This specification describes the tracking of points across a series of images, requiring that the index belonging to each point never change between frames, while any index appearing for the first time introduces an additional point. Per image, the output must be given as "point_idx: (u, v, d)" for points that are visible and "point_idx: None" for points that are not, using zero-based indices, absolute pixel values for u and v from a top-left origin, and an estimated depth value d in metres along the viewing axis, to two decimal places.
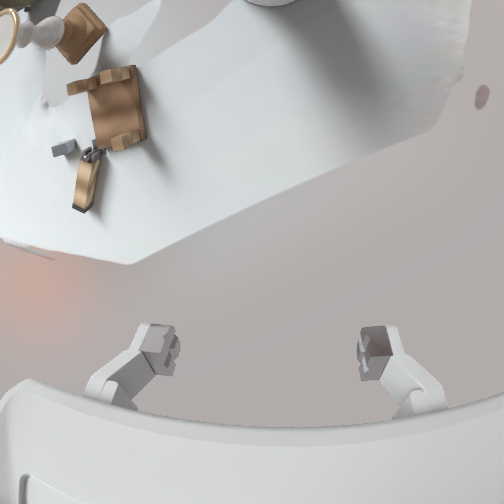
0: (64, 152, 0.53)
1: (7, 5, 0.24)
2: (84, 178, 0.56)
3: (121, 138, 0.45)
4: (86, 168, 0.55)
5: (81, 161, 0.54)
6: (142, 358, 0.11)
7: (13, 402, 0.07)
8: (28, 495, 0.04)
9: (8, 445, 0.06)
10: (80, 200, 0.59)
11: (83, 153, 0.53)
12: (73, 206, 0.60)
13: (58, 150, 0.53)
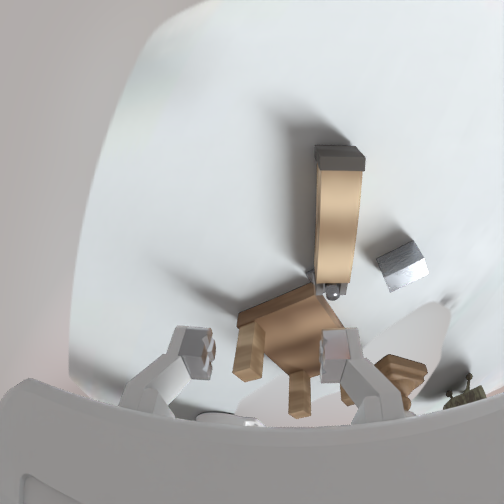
0: (394, 276, 0.29)
1: None
2: (332, 250, 0.27)
3: (244, 380, 0.32)
4: (329, 271, 0.29)
5: (345, 280, 0.29)
6: (180, 363, 0.11)
7: (13, 402, 0.07)
8: (28, 495, 0.04)
9: (8, 445, 0.06)
10: (338, 190, 0.24)
11: (343, 291, 0.30)
12: (361, 163, 0.22)
13: (410, 274, 0.29)
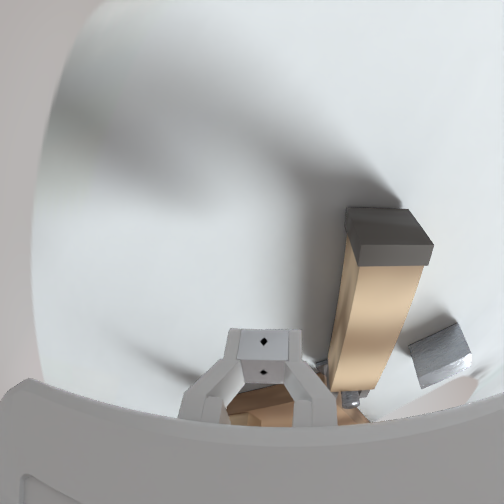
0: (430, 374, 0.19)
1: None
2: (358, 361, 0.17)
3: None
4: (350, 381, 0.19)
5: (368, 387, 0.19)
6: (239, 367, 0.10)
7: (13, 402, 0.07)
8: (28, 495, 0.04)
9: (8, 445, 0.06)
10: (382, 292, 0.14)
11: (363, 394, 0.21)
12: (425, 254, 0.12)
13: (449, 370, 0.19)
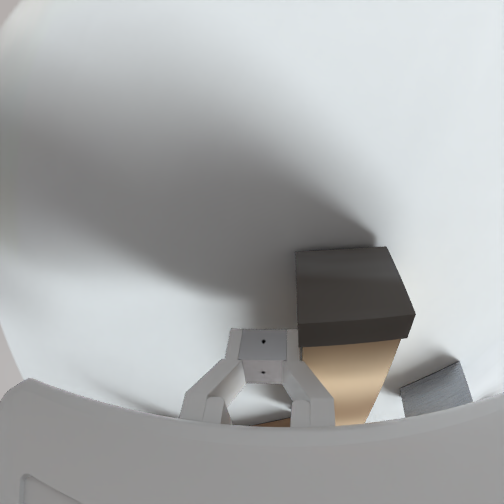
0: None
1: None
2: None
3: None
4: None
5: None
6: (240, 367, 0.10)
7: (13, 402, 0.07)
8: (28, 495, 0.04)
9: (8, 445, 0.06)
10: (342, 369, 0.10)
11: None
12: (402, 326, 0.08)
13: None
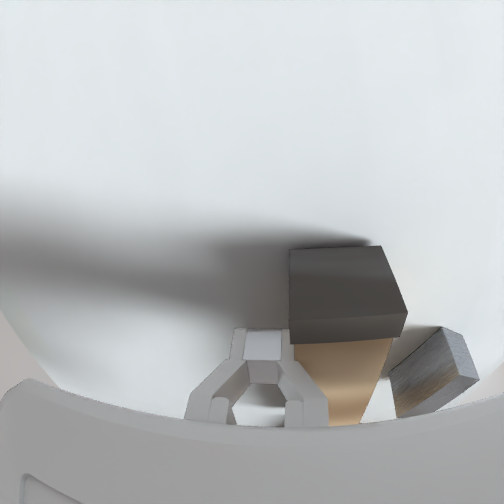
0: (414, 410, 0.13)
1: None
2: None
3: None
4: None
5: None
6: (245, 367, 0.10)
7: (13, 402, 0.07)
8: (28, 495, 0.04)
9: (8, 445, 0.06)
10: (335, 367, 0.10)
11: None
12: (394, 325, 0.08)
13: (443, 397, 0.13)
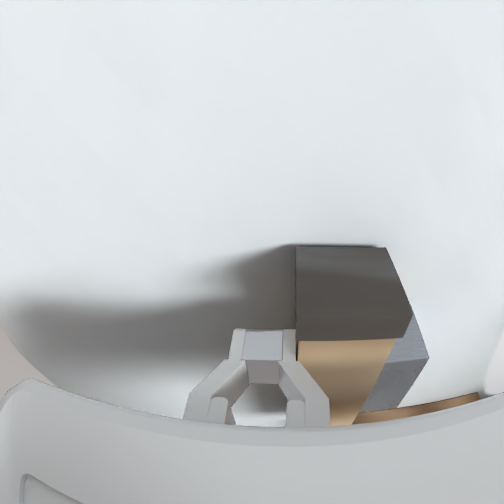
0: (366, 403, 0.13)
1: None
2: None
3: None
4: None
5: None
6: (244, 367, 0.10)
7: (13, 402, 0.07)
8: (28, 495, 0.04)
9: (8, 445, 0.06)
10: (336, 366, 0.10)
11: None
12: (399, 325, 0.09)
13: (391, 385, 0.12)
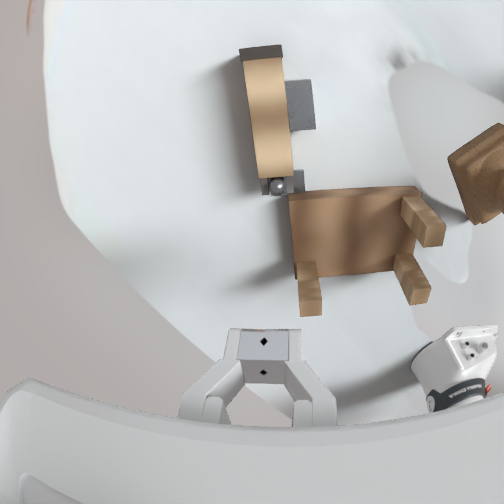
0: (293, 119, 0.26)
1: None
2: (267, 138, 0.27)
3: (319, 313, 0.32)
4: (269, 163, 0.28)
5: (288, 172, 0.28)
6: (239, 367, 0.10)
7: (13, 402, 0.07)
8: (28, 495, 0.04)
9: (8, 445, 0.06)
10: (261, 76, 0.23)
11: (290, 188, 0.30)
12: (278, 50, 0.22)
13: (300, 101, 0.25)
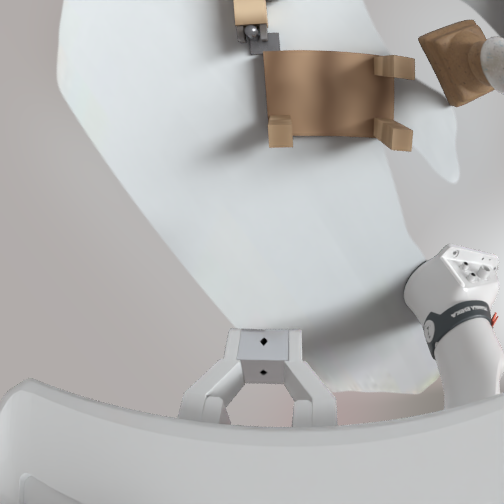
0: None
1: None
2: None
3: (290, 145, 0.28)
4: (245, 13, 0.25)
5: (261, 20, 0.25)
6: (239, 367, 0.10)
7: (13, 402, 0.07)
8: (28, 495, 0.04)
9: (8, 445, 0.06)
10: None
11: (263, 34, 0.26)
12: None
13: None
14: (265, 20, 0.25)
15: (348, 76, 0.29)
